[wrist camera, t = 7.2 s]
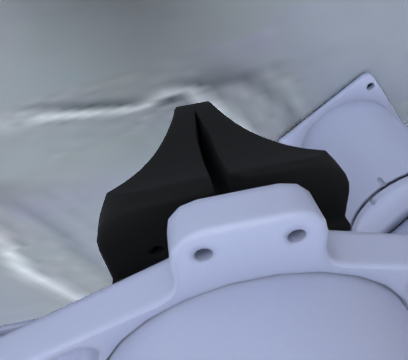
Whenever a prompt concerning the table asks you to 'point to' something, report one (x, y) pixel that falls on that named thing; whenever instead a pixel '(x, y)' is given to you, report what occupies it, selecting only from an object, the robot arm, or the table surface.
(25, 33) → the table surface
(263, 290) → the robot arm
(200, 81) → the table surface
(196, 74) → the table surface
